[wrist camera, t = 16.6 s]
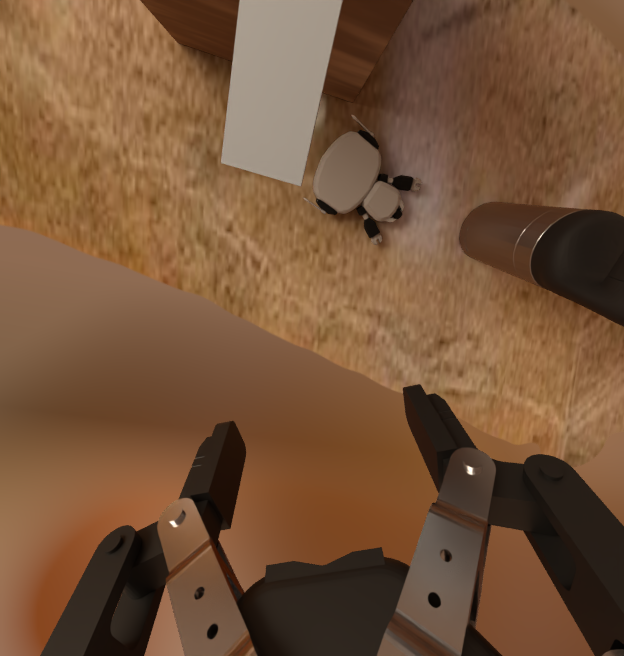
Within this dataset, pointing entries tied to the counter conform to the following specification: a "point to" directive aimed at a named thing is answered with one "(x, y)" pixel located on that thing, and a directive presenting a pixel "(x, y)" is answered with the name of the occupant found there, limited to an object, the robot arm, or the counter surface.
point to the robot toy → (359, 182)
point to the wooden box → (348, 48)
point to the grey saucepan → (277, 84)
